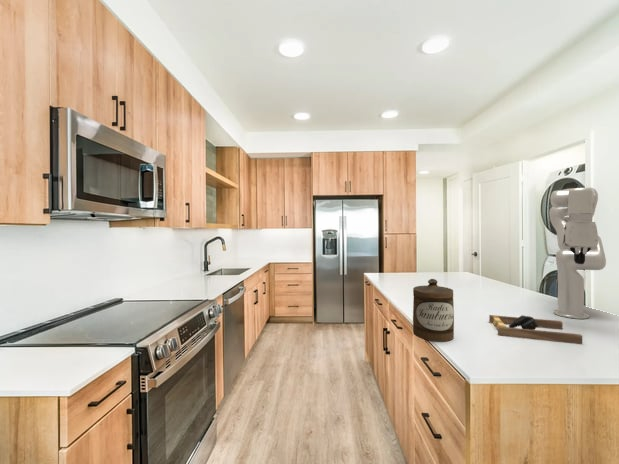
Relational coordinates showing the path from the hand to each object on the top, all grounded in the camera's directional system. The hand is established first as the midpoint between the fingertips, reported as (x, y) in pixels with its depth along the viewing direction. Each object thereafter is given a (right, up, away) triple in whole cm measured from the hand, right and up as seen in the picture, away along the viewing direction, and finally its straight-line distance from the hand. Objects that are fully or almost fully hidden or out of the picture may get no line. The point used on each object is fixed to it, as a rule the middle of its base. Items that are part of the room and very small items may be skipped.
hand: (579, 263), depth 124 cm
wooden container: (-61, -28, -4) cm, 68 cm away
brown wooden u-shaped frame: (-21, -27, -1) cm, 34 cm away
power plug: (-25, -28, -2) cm, 37 cm away
